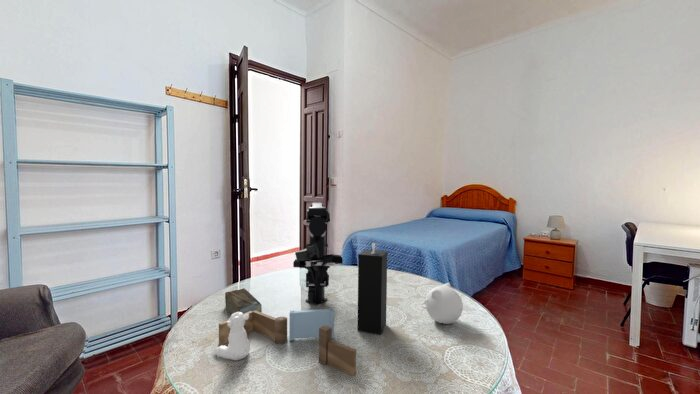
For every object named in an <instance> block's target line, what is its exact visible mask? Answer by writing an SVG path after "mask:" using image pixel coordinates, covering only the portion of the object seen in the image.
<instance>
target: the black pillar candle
mask: <svg viewBox="0 0 700 394" xmlns="http://www.w3.org/2000/svg"><path fill="white" fill-rule="evenodd" d="M371 249H372V250H371ZM371 249H364V250H363V251H361V252H360V253H357V260H358V263H357V265H358V266H357V268H358V269H357V271H358V272H357V276H358V277H357V331H358V332H361V331H362V332H363V333H368V334H369V333H370V334H375V335H379V336H380V335H382V333H383V332H384V329H385V328H386V326H387V302H388V301H387V298H388V297H387V293H388V292H387V291H388V290H387V289H388V285H387V284H388V251H387V250H375V249H376V242H372V243H371Z"/></svg>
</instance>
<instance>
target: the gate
mask: <svg viewBox="0 0 700 394" xmlns="http://www.w3.org/2000/svg"><path fill="white" fill-rule="evenodd" d="M288 321H289V322H288V323H289V324H288V325H289V328H288V329H289V336H288V337H289V339H288V340H289V341H295V339H309V338H311V339H312V338H313V339H314V338H319V328H320V327H322V326H324V325H327V326H330V327H332V339H335V308H328V309H327V308H326V309H325V308H324V309H305V310H301V309H300V310H294V309H293V310H289V319H288Z"/></svg>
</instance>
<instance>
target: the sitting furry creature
mask: <svg viewBox="0 0 700 394" xmlns="http://www.w3.org/2000/svg"><path fill="white" fill-rule="evenodd" d="M248 318H249V314H247V315H243V313H242V312H236V313H234V314H231V315H230V317H229V318H228V319H227V320H228V321H227V320H226V321H227V323H228V324H227V325H228V326H229V328H230V329H231V330H230V334H229V337H228V340H229V342H228V344H227V345H228V346H226V345H219V346H217V347H215V348H214V355H216V356H217V358H221V359H222V358H223V359H227V360H231V361H240V360H243V359H245V358H247V356H248V355H249V354H250V350H251V347H250V346H251V343H250V340H249V338H248V333H246V330H245V329H244V327H243V326H244V324H245V320H248Z"/></svg>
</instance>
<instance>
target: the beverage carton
mask: <svg viewBox="0 0 700 394" xmlns="http://www.w3.org/2000/svg"><path fill="white" fill-rule="evenodd" d="M224 296H225V297H224V298H225V299H224V302H225V307H226V310H228V312H229V313H230V314H231V315H232V314H234V313H236V312H242V313H243V314H244V313H247V312H249V311H255V310H256V311H258V312H261V313H263V312H262V311H263V310H262V307H263V306H262V303H261V302H260V301H258V299H257V298H256V297H254V295H253V294H252V293H250V292H249V291H248V290H247V289H246V288H241V289H235V290H231V291H230V290H229V291H226V292H225V293H224Z"/></svg>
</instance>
